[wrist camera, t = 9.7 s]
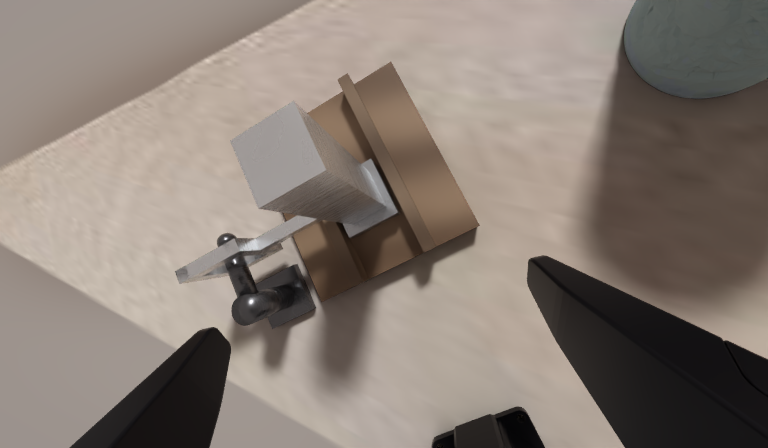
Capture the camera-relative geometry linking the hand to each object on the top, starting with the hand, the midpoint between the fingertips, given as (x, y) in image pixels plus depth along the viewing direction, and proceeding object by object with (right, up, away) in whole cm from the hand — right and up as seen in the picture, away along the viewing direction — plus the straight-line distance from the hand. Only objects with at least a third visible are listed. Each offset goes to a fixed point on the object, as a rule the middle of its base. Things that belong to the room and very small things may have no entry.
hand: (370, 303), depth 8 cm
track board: (-1, +5, +13) cm, 14 cm away
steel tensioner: (-5, +2, +12) cm, 13 cm away
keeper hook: (-8, -2, +14) cm, 16 cm away
